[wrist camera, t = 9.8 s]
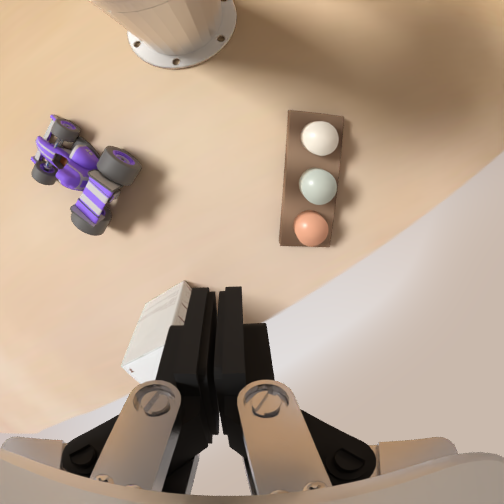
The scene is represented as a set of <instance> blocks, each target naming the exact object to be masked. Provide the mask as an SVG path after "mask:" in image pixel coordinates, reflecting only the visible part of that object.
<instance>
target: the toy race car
mask: <svg viewBox="0 0 504 504" xmlns="http://www.w3.org/2000/svg"><path fill="white" fill-rule="evenodd" d="M50 117H51V118H52V121H51V123H50V125H49V127H48V129H47V131H46V133H45V135H44V137H43V138H42V137H41V136H38V137H37V139H36V145H37V147H38V151H37V153H36V155H35V156H34V157H31V160H32V161H33V162H34V164H35V165H34V168H33V170H32V177H33V178H34V179H35V180H36V181H37V182H39V183H41V184H44V185H53V184H54V183H55V181H56V179H59V182H60V183H61V184H62V185H63V186H65V187H67V188H70V189H73V190H78V191H83V193H82V195H81V197H80V198H78V200H77V203H76V204H75V205H73V206H71V208H70V210H71V212H72V214H71V220H72V222H73V224H74V225H75V226H76V227H77V228H78V229H79V230H81V231H83V232H84V233H87V234H89V235H94V236H97V235H101V234H103V233H104V231H105V229H106V227H107V226H108V224H109V222H110V220H111V218H112V214H111V211H110V210H109V208H108V207H107V206H105V204H106V202H108V203H110V202H111V201H113V200H114V199H115V200H116V199H117V198H118V197H117V196H119V194H120V191H121V190H120V189H119V188H121V187H123V186H124V185H125V186H129V185H131V184H132V183H133V181H134V179H135V178H136V176H137V175H138V173H139V171H140V170H141V168H142V167H141V164H140V163H139V161H138V160H137V159H136V158H134V157H133V156H132V155H131V154H129V153H128V152H126V151H124V150H122V149H120V148H117V147H113V146H107V147H106V148H105V150H104V152H103V153H102V155H101V157H100V155H99V154H98V153H97V152H96V150H95V149H94V148H93V147H92V146H91V145H90V143H88V142H87V141H86V140H84V139H83V138H82V137H80V136H79V133H80V128H79V127H78V126H77V125H75V124H74V123H72V122H71V121H69V120H66V119H62V118H58V117H57V116H56V115H51V116H50ZM52 134H53V135H55V136H56V137H57V140H56V142H55V143H49V139H50V137H51V135H52ZM77 136H78V137H77ZM58 139H59V140H58ZM57 141H58V142H59V143H60V144H61V145H60V144H59V143H58V142H57ZM60 141H61V142H62V143H61V142H60ZM63 141H67V142H74V141H75V142H74V144H73V146H72V148H71V150H68V149H64V147H62V144H63ZM42 157H44V158H45V159H46V160H47V162H46V161H42ZM52 164H53V165H52Z"/></svg>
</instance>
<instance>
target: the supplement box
mask: <svg viewBox="0 0 504 504" xmlns="http://www.w3.org/2000/svg"><path fill="white" fill-rule="evenodd" d="M191 291H192V289H191V287H190V286H189V285H188V284H187V283H186V281H182V282H180V283H179V284H177V285H175V286H174V287H172V288H170V289H169V290H167V291H165V292H164V293H162V294H160V295H159V296H157V297H156V298H154V299H152V300H151V301H149V302H147V303H146V304H145V307H144V309H143V311H142V314H141V316H140V318H139V321H138V323H137V326H136V328H135V331H134V333H133V336H132V338H131V341H130V343H129V346H128V348H127V351H126V353H125V356H124V359H123V361H122V364H121V367H122V368H123V369H124V370H125V371H126V372H127V373H128V374H130V375H131V376H132V377H133V378H134V379H135V380H136V381H138V382H139V383H140V384H142V383H144V382H146V381H152V380H155V379H156V375H157V371H158V367H159V363H160V359H161V356H162V352H163V348H164V345H165V341H166V337H167V334H168V330H169V327H170V326H171V325H184V321H185V317H186V312H187V308H188V304H189V299H190V295H191Z"/></svg>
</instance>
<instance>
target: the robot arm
mask: <svg viewBox="0 0 504 504" xmlns="http://www.w3.org/2000/svg"><path fill="white" fill-rule="evenodd" d="M88 1H89V2H91V3H92V4H94V5H95V6H97V7H98V8H99V9H101V10H102V11H103V12H105V13H106V14H107V15H109V16H110V17H111V18H113V19H114V20H115V21H116V22H118V23H119V24H120V25H122V26H123V27H124V28H125V29H127V36H128V41H129V44H130V46H131V48H132V50H133V51H134V52H135V53H136V55H137V56H138V57H139V58H141V59H142V60H143V61H145V62H146V63H148V64H150V65H153V66H156V67H159V68H165V69H181V68H187V67H191V66H194V65H197V64H200V63H202V62H204V61H206V60H208V59H210V58H211V57H213V56H214V55H216V54H217V53H218V52H219V51H220V50H221V49H222V48H223V47H224V46H225V45H226V44H227V43H228V41H229V40H230V38H231V36H232V34H233V32H234V30H235V26H236V20H237V13H236V7H235V4H234V2H233V0H227V1H225V2H223V1H221V0H88ZM221 36H222V37H224V38H225V40H224V41H223V42H219V41H218V40H217V39H218V38H219V37H221ZM137 42H141V44H140V46H139V47H137V48H136V47H135V44H136V43H137ZM176 59H179V60H180V63H179V64H178V65H173V62H174V60H176ZM219 411H220V417H221V423H222V428H223V434H224V435H228V440H229V445H230V447H231V448H232V449H234V450H235V451H236V452H238V453H239V454H240V455H241V456H242V458H243V462H244V467H245V471H246V476H247V480H248V484H249V488H250V492H251V496H204V495H203V496H202V495H190V494H191V490H192V486H193V482H194V478H195V474H196V469H197V466H198V462H199V453H200V452H201V451H202V450H204V449H205V448H207V447H208V443H212V435H218V433H219ZM0 504H504V458H503V457H502V456H499V455H497V454H491V453H483V452H477V453H463V454H458V453H457V450H456V447H455V445H454V444H453V443H452V442H451V441H450V440H448V439H446V438H443V437H432V438H425V439H416V440H405V441H392V442H379V443H378V444H377V445H367V444H366V443H364V442H362V441H361V440H358V439H356V438H354V437H352V436H350V435H348V434H346V433H344V432H342V431H340V430H338V429H336V428H334V427H332V426H330V425H328V424H327V423H325V422H323V421H321V420H319V419H317V418H315V417H314V416H312V415H310V414H308V413H306V412H304V411H303V410H301V409H300V408H299V405H298V403H297V401H296V399H295V396H294V394H293V392H292V391H291V389H290V388H288V387H287V386H286V385H285V384H282V383H280V382H278V381H275V380H274V373H273V366H272V360H271V353H270V346H269V339H268V333H267V326H266V323H256V324H243V311H242V287H226V289H225V291H220V292H219V303H218V316H217V308H216V297H215V292H209V288H192V291H191V295H190V299H189V304H188V308H187V312H186V317H185V321H184V325H171V326H170V327H169V330H168V334H167V337H166V341H165V345H164V348H163V352H162V356H161V359H160V363H159V367H158V371H157V375H156V379H155V380H152V381H146V382H144V383H142V384H139V385H138V386H137V387H135V388H134V389H133V390H132V392H131V393H130V394H129V396H128V398H127V401H126V402H125V404H124V406H123V408H122V410H121V413H120V414H119V415H117V416H115V417H114V418H112V419H110V420H108V421H106V422H105V423H103V424H101V425H99V426H97V427H96V428H94V429H92V430H90V431H88V432H86V433H84V434H82V435H80V436H78V437H77V438H75V439H73V440H72V441H70V442H69V443H64V441H63V440H49V439H36V438H25V437H11V438H9V439H7V440H6V441H5V442H4V443H3V445H2V447H1V448H0Z"/></svg>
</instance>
